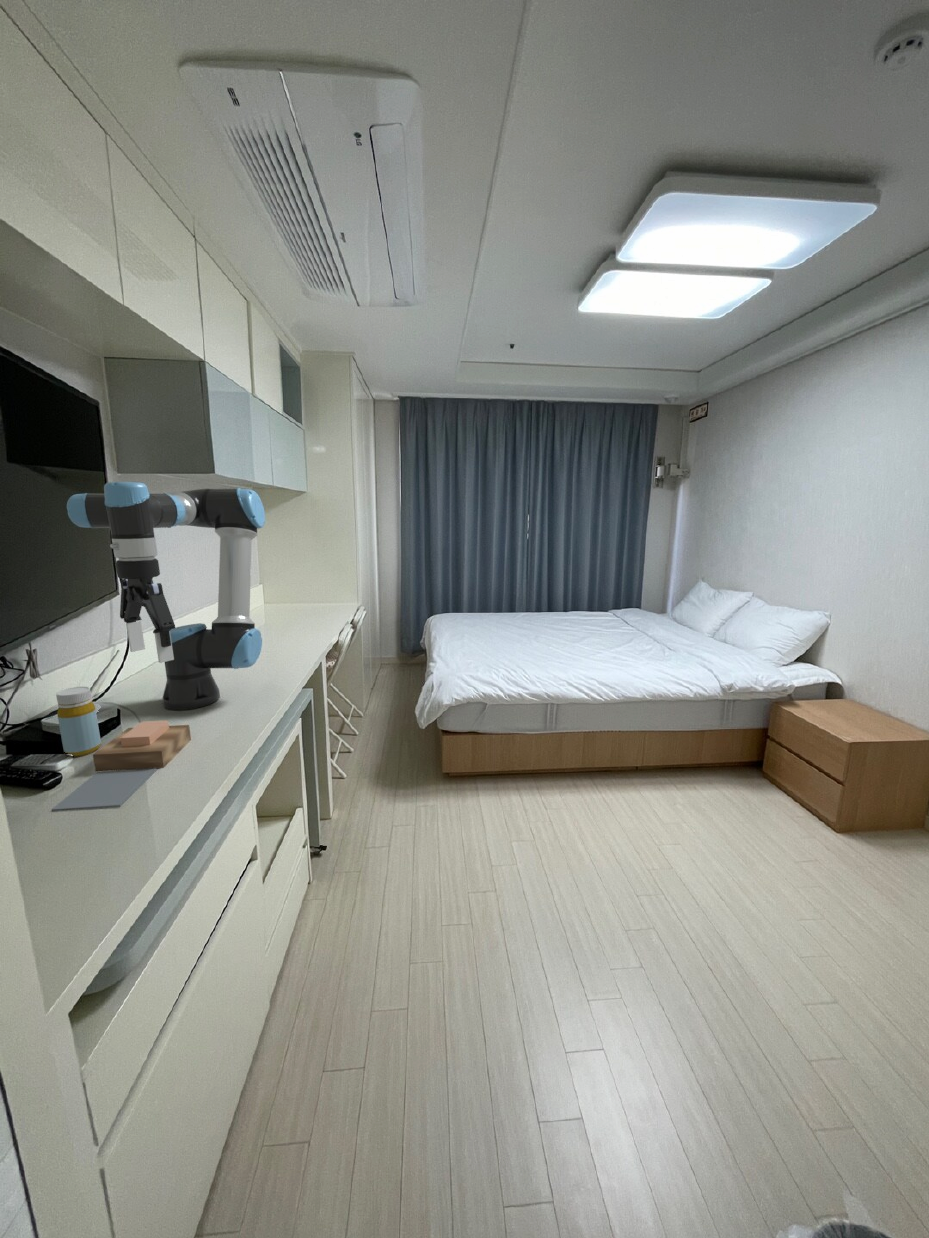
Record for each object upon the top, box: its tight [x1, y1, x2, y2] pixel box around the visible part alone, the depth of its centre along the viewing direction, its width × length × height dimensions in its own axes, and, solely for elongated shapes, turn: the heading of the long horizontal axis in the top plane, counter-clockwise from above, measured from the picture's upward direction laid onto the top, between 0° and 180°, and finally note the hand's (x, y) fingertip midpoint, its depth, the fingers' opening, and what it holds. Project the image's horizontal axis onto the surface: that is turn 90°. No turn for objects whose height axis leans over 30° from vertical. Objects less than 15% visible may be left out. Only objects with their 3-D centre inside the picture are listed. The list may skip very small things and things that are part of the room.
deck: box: [92, 724, 192, 772], centre depth 113 cm, size 14×14×4 cm
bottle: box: [55, 686, 102, 758], centre depth 114 cm, size 7×7×15 cm
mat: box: [51, 768, 158, 812], centre depth 99 cm, size 14×12×1 cm
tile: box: [121, 720, 170, 746], centre depth 113 cm, size 9×6×2 cm, turn 7°
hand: (151, 655), depth 106 cm, fingers open, 13 cm apart
